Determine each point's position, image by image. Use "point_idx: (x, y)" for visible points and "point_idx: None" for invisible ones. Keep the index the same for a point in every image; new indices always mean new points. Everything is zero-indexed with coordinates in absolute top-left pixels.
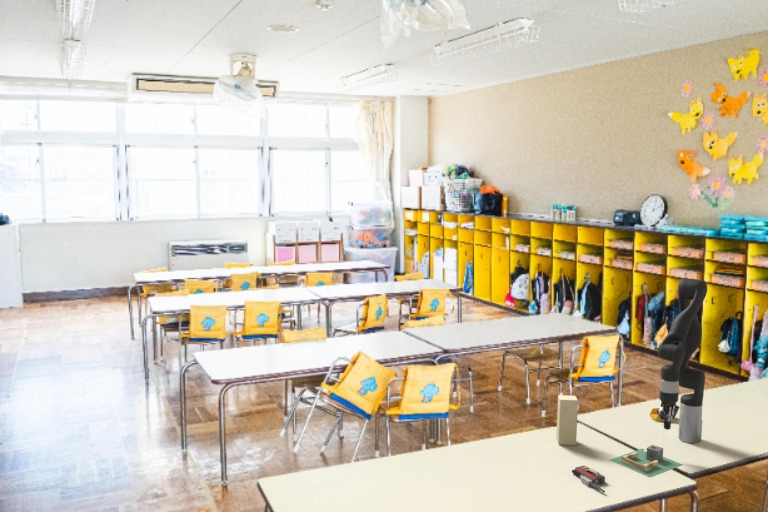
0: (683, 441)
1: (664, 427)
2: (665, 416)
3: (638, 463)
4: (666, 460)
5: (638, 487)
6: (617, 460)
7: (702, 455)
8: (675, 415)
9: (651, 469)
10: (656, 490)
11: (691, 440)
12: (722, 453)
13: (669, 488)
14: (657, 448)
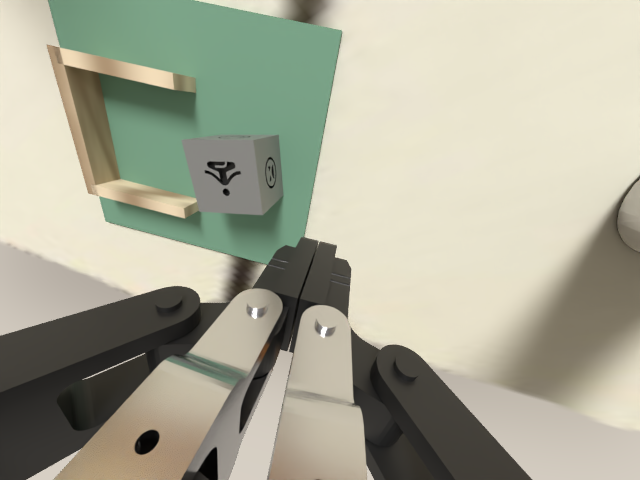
0: (633, 186)
1: (282, 252)
2: (96, 428)
3: (85, 162)
4: (284, 211)
5: (32, 217)
6: (79, 17)
7: (454, 299)
8: (415, 468)
9: None
10: (73, 262)
11: (633, 236)
12: (527, 347)
13: (116, 283)
14: (230, 192)
